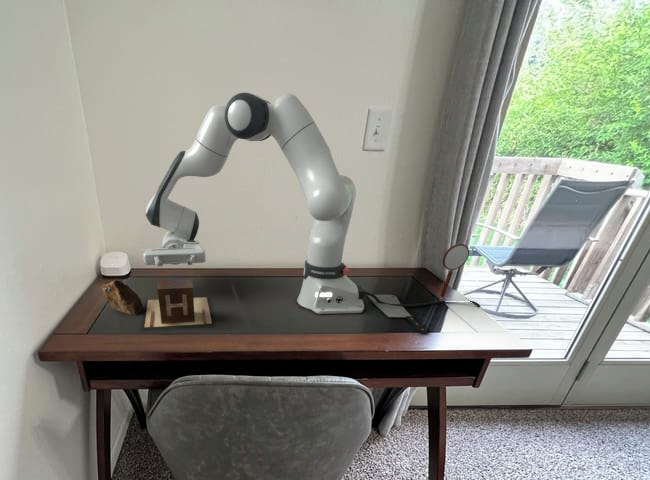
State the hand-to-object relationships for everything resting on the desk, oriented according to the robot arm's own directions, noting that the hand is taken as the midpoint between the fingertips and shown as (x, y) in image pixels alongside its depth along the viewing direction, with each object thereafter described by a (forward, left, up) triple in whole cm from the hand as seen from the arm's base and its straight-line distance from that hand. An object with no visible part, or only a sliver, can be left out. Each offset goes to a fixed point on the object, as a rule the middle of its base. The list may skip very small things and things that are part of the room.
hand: (174, 263), depth 111 cm
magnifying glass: (-91, -16, -14) cm, 94 cm away
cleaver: (-72, -3, -14) cm, 74 cm away
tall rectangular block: (-3, +11, -13) cm, 18 cm away
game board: (-2, +6, -14) cm, 16 cm away
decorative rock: (+16, +8, -14) cm, 23 cm away
